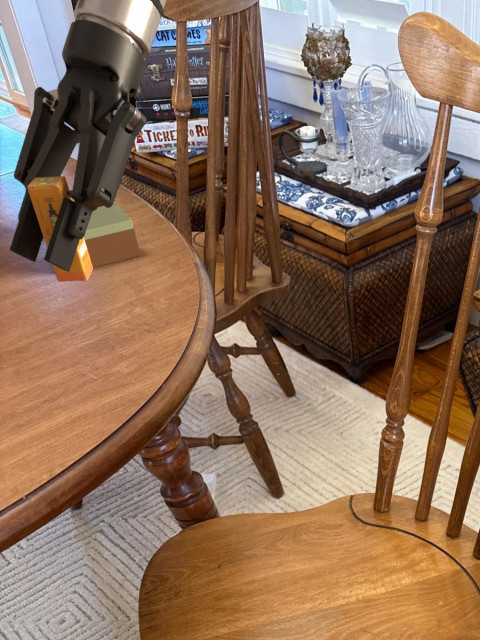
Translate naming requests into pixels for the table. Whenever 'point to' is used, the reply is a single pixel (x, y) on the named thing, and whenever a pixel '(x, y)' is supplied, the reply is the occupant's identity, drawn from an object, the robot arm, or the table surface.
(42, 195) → the supplement box
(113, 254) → the shelf
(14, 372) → the table surface
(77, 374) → the table surface
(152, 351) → the table surface
